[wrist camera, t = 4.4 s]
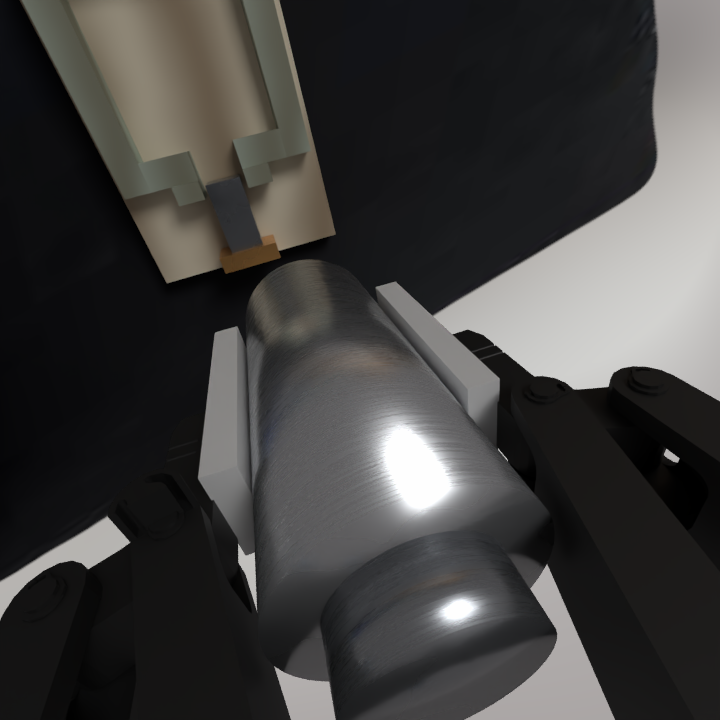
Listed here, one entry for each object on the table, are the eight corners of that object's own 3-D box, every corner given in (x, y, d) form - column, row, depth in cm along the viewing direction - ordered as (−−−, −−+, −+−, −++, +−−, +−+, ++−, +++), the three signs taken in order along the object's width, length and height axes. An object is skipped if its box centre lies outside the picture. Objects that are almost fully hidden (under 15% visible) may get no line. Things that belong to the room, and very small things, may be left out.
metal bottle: (268, 388, 16) (318, 804, 6) (225, 279, 14) (189, 700, 3) (378, 355, 17) (586, 680, 7) (358, 244, 14) (652, 511, 4)
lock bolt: (226, 263, 26) (225, 273, 24) (194, 185, 23) (190, 190, 21) (277, 248, 26) (280, 257, 24) (251, 170, 24) (253, 173, 22)
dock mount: (170, 276, 27) (161, 293, 24) (4, -49, 18) (-41, -85, 15) (331, 229, 28) (341, 240, 25) (251, -94, 19) (254, -135, 16)
